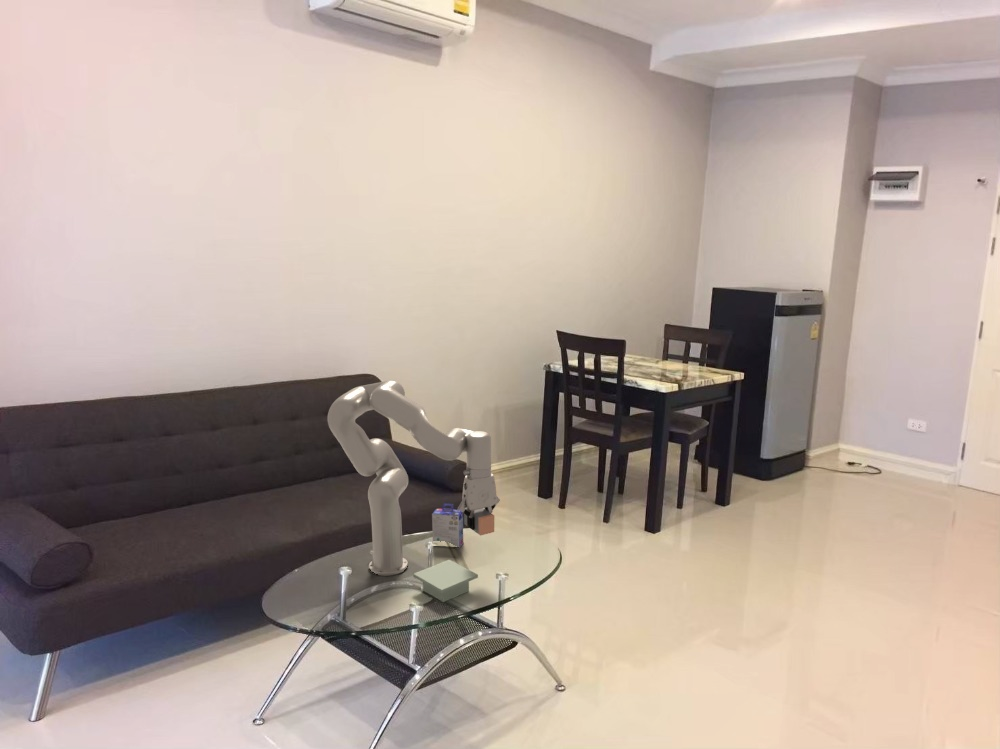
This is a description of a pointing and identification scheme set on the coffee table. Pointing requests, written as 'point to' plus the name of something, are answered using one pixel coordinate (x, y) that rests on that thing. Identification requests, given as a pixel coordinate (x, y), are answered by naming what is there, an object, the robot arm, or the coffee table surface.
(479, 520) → the block
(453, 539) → the ink cartridge box
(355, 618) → the coffee table surface
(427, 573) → the stand
